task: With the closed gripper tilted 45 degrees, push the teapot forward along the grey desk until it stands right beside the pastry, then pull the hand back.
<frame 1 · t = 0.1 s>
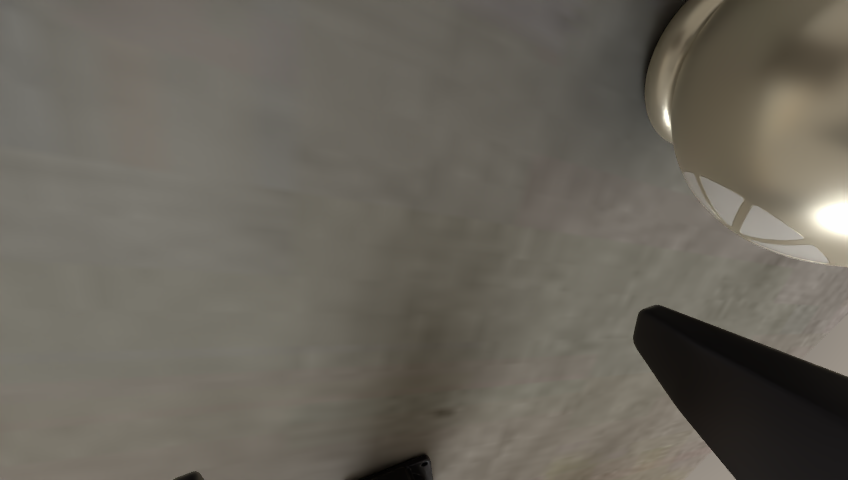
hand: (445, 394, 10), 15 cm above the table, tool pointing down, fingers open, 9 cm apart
teapot: (713, 76, 28), on the table
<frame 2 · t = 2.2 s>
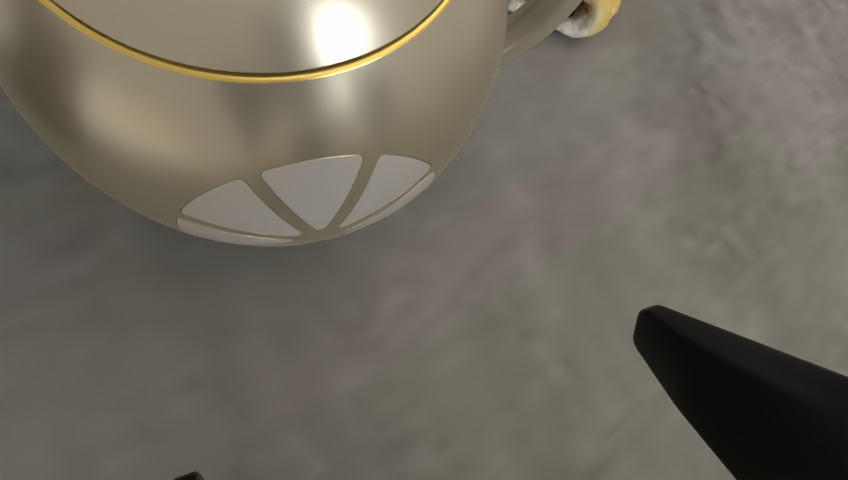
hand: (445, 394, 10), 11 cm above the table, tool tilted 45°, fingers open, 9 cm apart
teapot: (321, 121, 22), on the table
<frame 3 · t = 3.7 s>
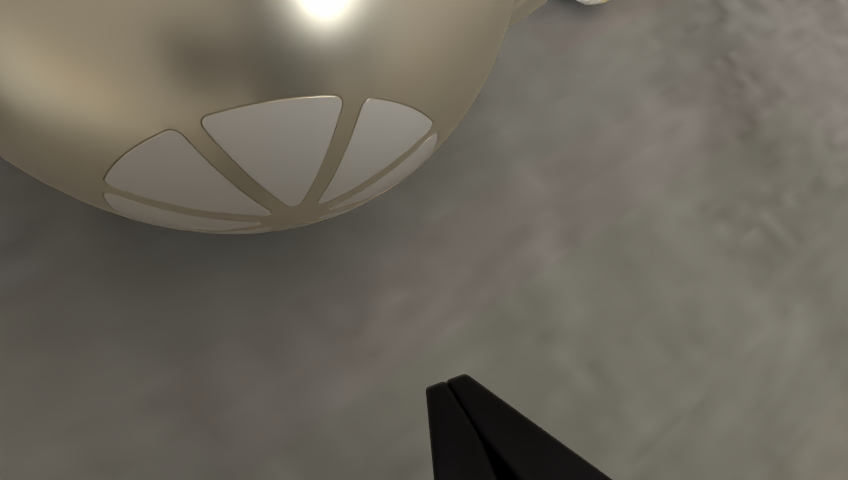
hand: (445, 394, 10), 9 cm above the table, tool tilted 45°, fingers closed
teapot: (306, 100, 20), on the table
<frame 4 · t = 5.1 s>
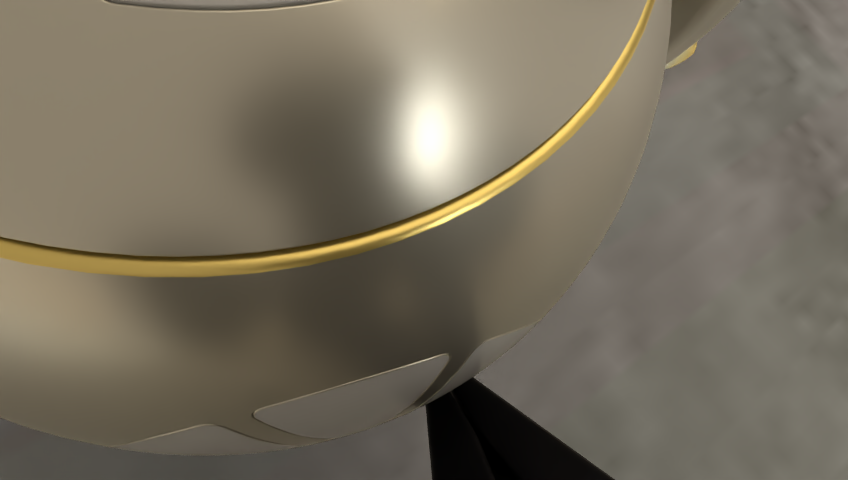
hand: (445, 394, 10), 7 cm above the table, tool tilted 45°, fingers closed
teapot: (337, 186, 17), on the table, touching gripper
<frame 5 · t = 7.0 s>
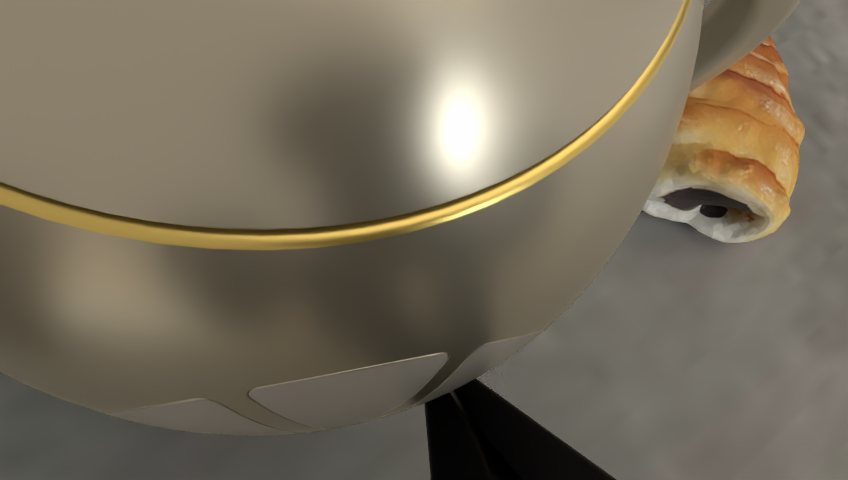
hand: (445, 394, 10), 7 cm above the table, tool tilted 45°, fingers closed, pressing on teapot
teapot: (353, 184, 17), on the table, touching gripper
pastry: (679, 144, 21), on the table
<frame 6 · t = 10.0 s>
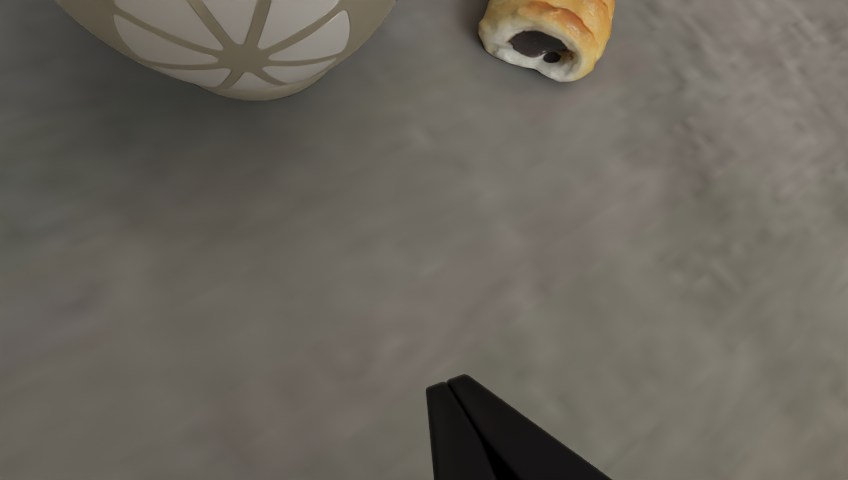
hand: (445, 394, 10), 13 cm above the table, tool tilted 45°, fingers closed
teapot: (287, 26, 25), on the table
pastry: (537, 19, 28), on the table
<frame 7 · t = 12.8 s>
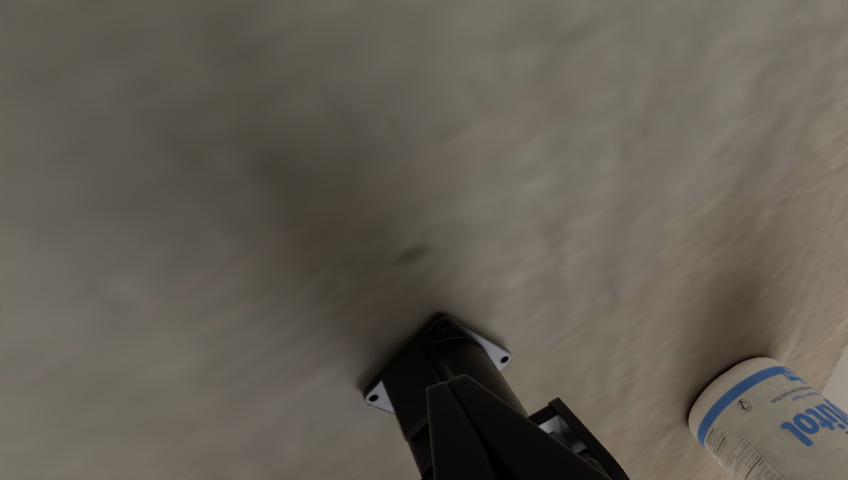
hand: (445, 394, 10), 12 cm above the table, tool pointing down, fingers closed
supplement tub: (725, 392, 43), on the table
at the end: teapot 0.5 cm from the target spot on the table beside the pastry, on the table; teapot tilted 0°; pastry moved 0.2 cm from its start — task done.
